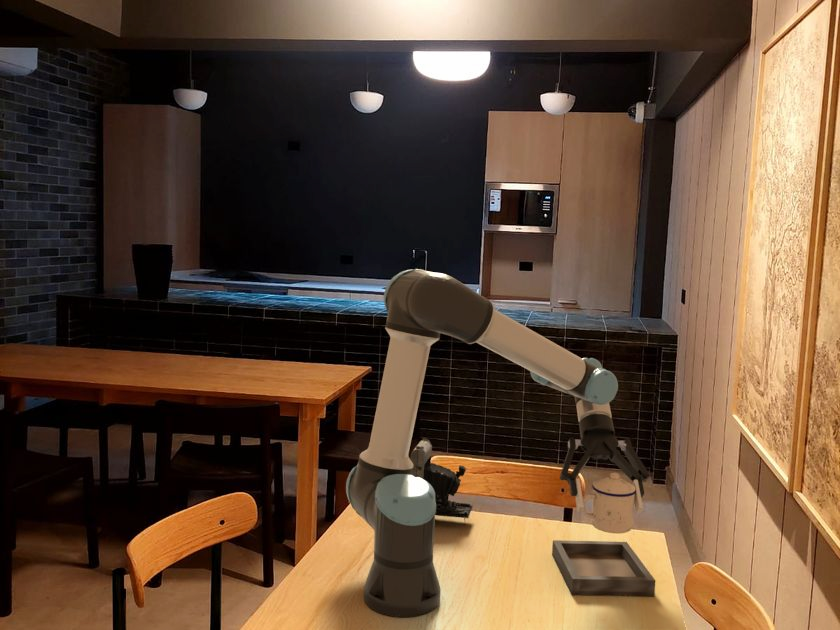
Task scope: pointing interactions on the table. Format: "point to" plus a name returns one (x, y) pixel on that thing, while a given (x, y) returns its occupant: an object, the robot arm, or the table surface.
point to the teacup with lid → (611, 504)
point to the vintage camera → (439, 481)
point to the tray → (602, 569)
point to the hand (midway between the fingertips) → (610, 510)
